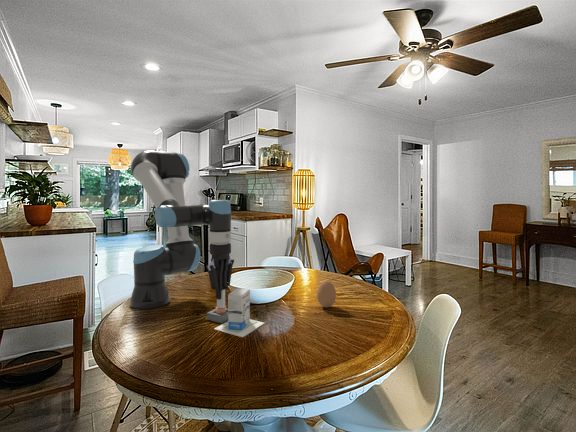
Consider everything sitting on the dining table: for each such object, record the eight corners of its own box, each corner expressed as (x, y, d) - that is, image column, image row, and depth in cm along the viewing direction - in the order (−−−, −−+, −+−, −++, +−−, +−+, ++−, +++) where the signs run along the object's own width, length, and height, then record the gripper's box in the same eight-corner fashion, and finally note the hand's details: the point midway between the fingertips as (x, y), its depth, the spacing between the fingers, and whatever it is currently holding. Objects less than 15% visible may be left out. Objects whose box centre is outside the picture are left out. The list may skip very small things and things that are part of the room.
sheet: (214, 329, 111) (214, 327, 111) (237, 317, 122) (237, 315, 122) (242, 337, 105) (242, 335, 105) (264, 323, 116) (264, 322, 116)
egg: (322, 311, 128) (322, 284, 127) (313, 305, 135) (314, 279, 134) (339, 309, 130) (339, 282, 130) (330, 303, 137) (330, 277, 137)
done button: (213, 314, 120) (213, 308, 119) (220, 311, 123) (220, 305, 123) (221, 316, 118) (221, 310, 118) (228, 313, 121) (228, 306, 121)
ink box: (241, 330, 108) (241, 295, 108) (227, 329, 110) (227, 294, 109) (250, 320, 117) (250, 288, 116) (237, 319, 118) (237, 287, 117)
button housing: (207, 319, 119) (207, 312, 119) (220, 313, 125) (219, 306, 125) (222, 323, 116) (222, 316, 116) (234, 316, 122) (234, 310, 122)
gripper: (216, 246, 111) (217, 314, 113) (239, 241, 122) (240, 303, 124) (199, 244, 114) (200, 310, 116) (224, 239, 126) (224, 300, 128)
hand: (221, 307), depth 120 cm, fingers closed
